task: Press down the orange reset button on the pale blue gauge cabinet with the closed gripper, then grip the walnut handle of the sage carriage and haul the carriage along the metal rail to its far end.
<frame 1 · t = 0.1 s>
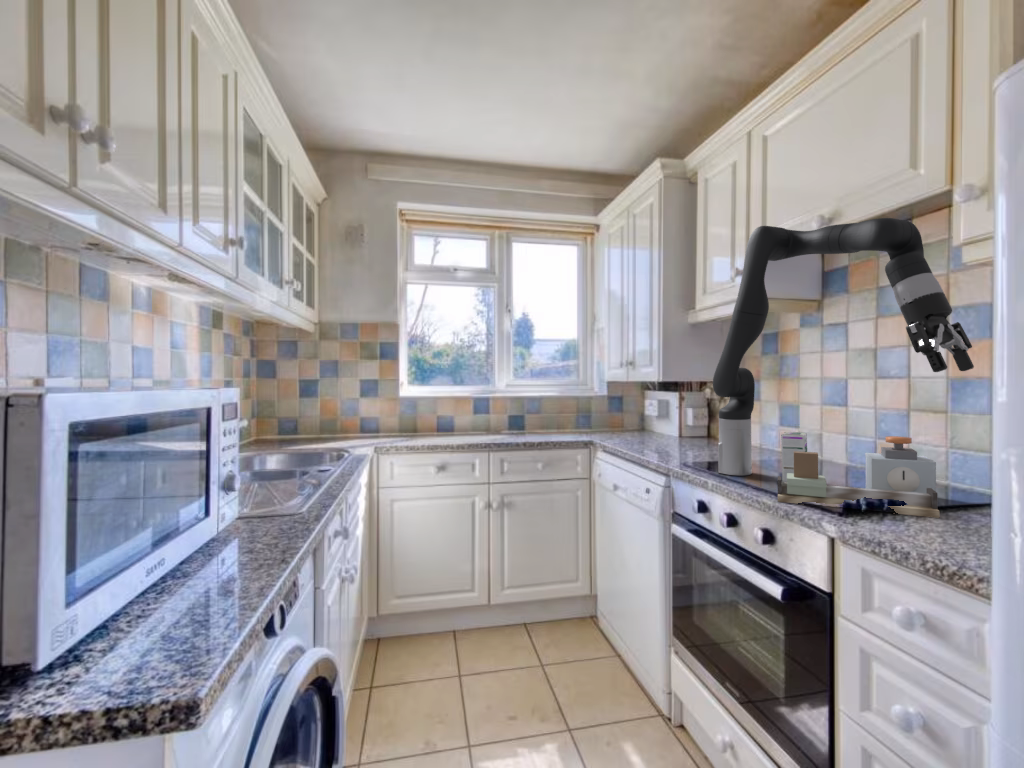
hand: (954, 370, 96), 31 cm above the countertop, tool tilted 20°, fingers open, 8 cm apart
syrup box: (795, 485, 132), on the countertop
gauge cabinet: (898, 497, 117), on the countertop
reset button: (898, 443, 117), point 13 cm above the countertop, slide at 0.0 cm
carriage: (805, 472, 116), point 7 cm above the countertop, slide at -9.0 cm
rail base: (850, 504, 111), on the countertop
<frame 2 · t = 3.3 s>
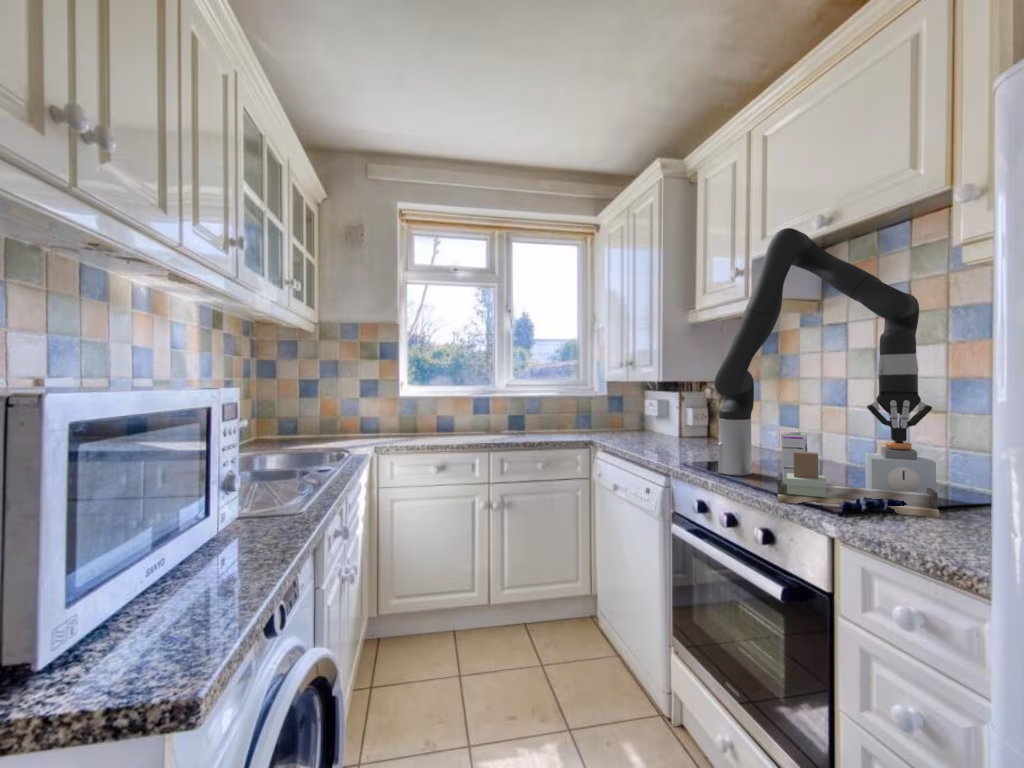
hand: (898, 442, 117), 14 cm above the countertop, tool pointing down, fingers closed
reset button: (898, 448, 117), point 12 cm above the countertop, slide at 1.3 cm, touching gripper
everything else where it was.
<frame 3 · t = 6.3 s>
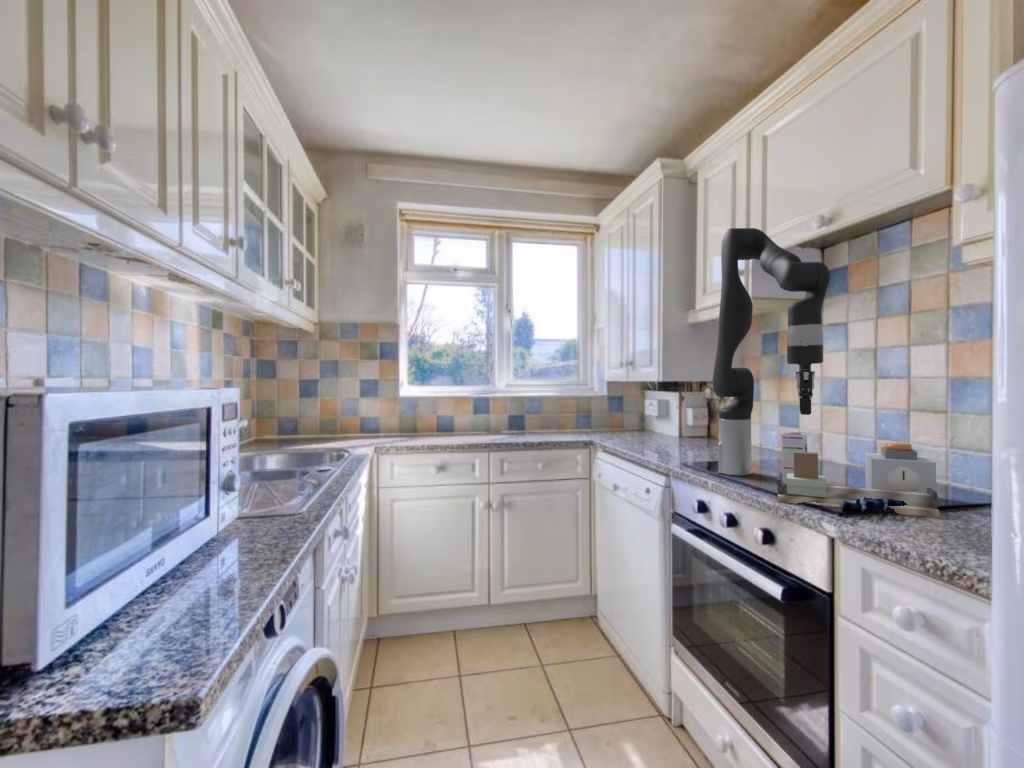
hand: (805, 413, 116), 21 cm above the countertop, tool pointing down, fingers open, 5 cm apart
reset button: (898, 449, 117), point 12 cm above the countertop, slide at 1.6 cm
everything else where it was.
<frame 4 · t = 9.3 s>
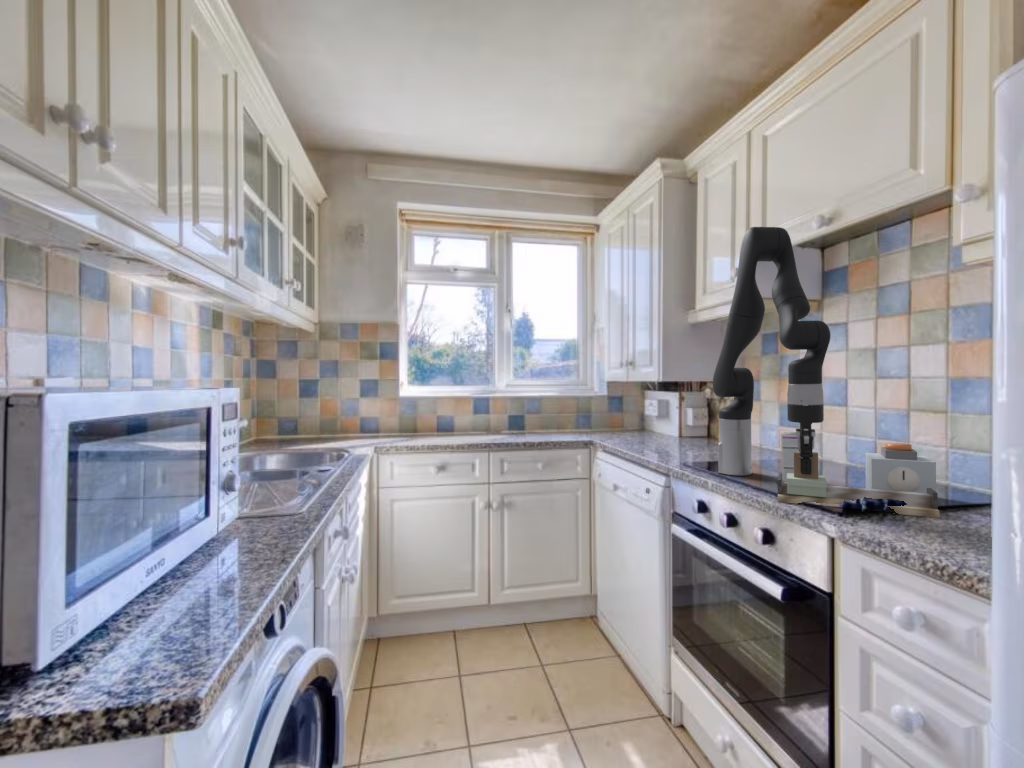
hand: (805, 472, 116), 7 cm above the countertop, tool pointing down, fingers closed on carriage, 2 cm apart
carriage: (805, 472, 116), point 7 cm above the countertop, slide at -9.0 cm, touching gripper
everything else where it was.
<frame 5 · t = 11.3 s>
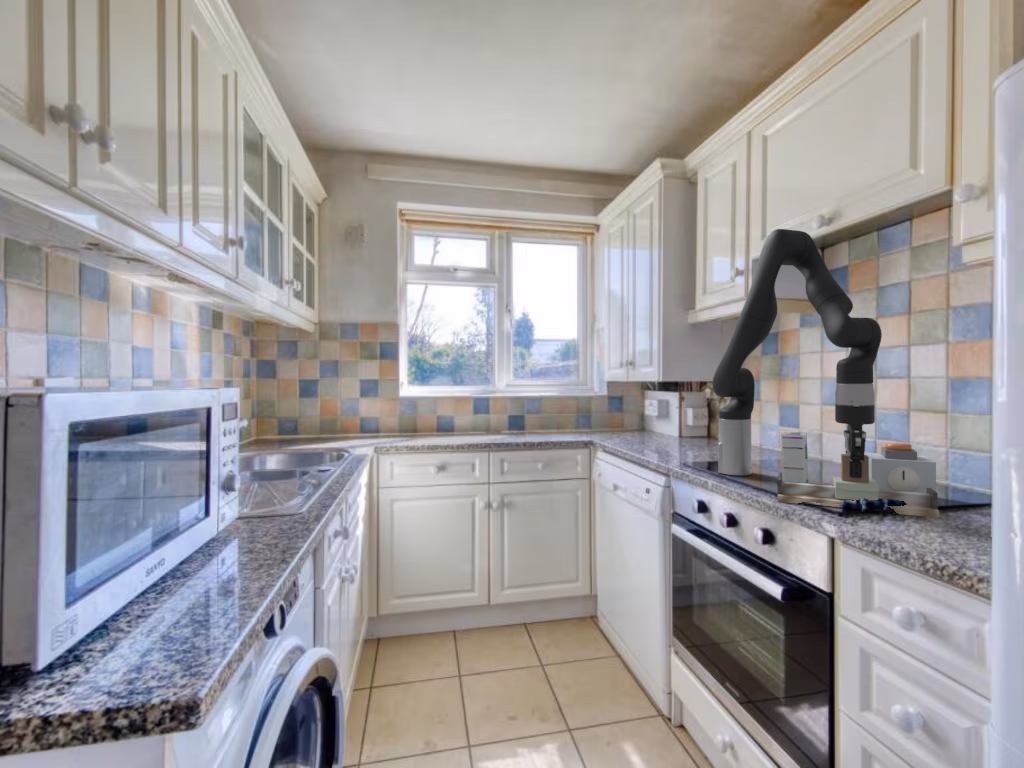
hand: (854, 476, 111), 7 cm above the countertop, tool pointing down, fingers closed on carriage, 2 cm apart
carriage: (854, 476, 111), point 7 cm above the countertop, slide at 0.8 cm, touching gripper
everything else where it was.
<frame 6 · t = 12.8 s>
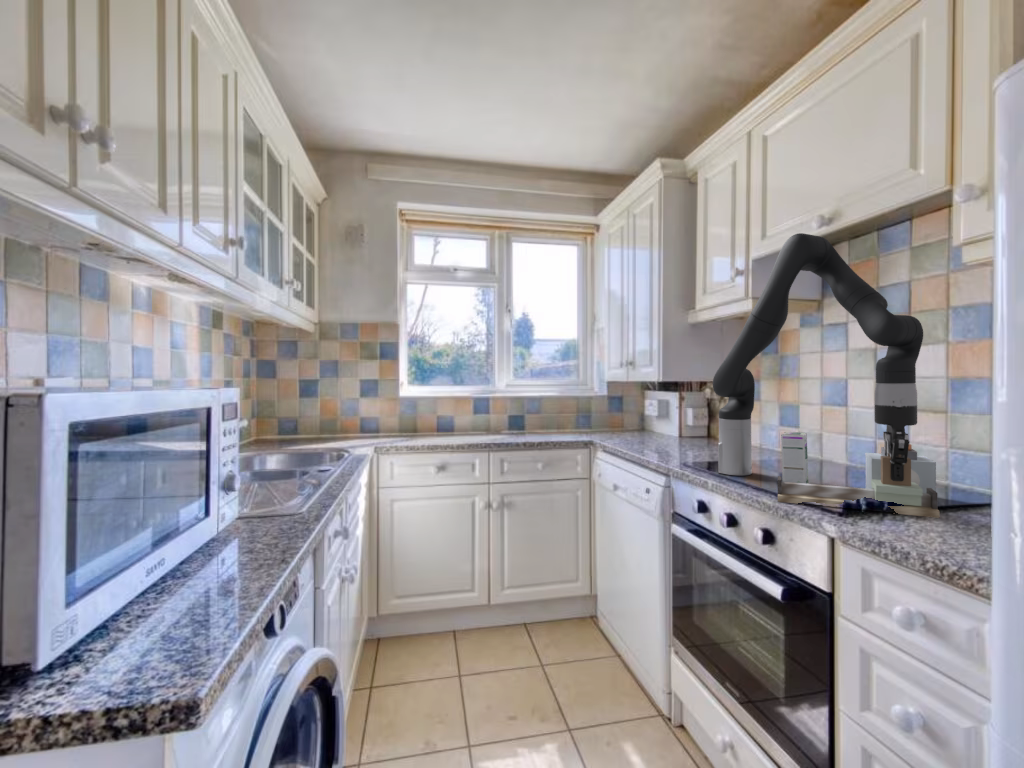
hand: (895, 479, 107), 7 cm above the countertop, tool pointing down, fingers closed on carriage, 2 cm apart
carriage: (895, 479, 107), point 7 cm above the countertop, slide at 8.3 cm, touching gripper
everything else where it was.
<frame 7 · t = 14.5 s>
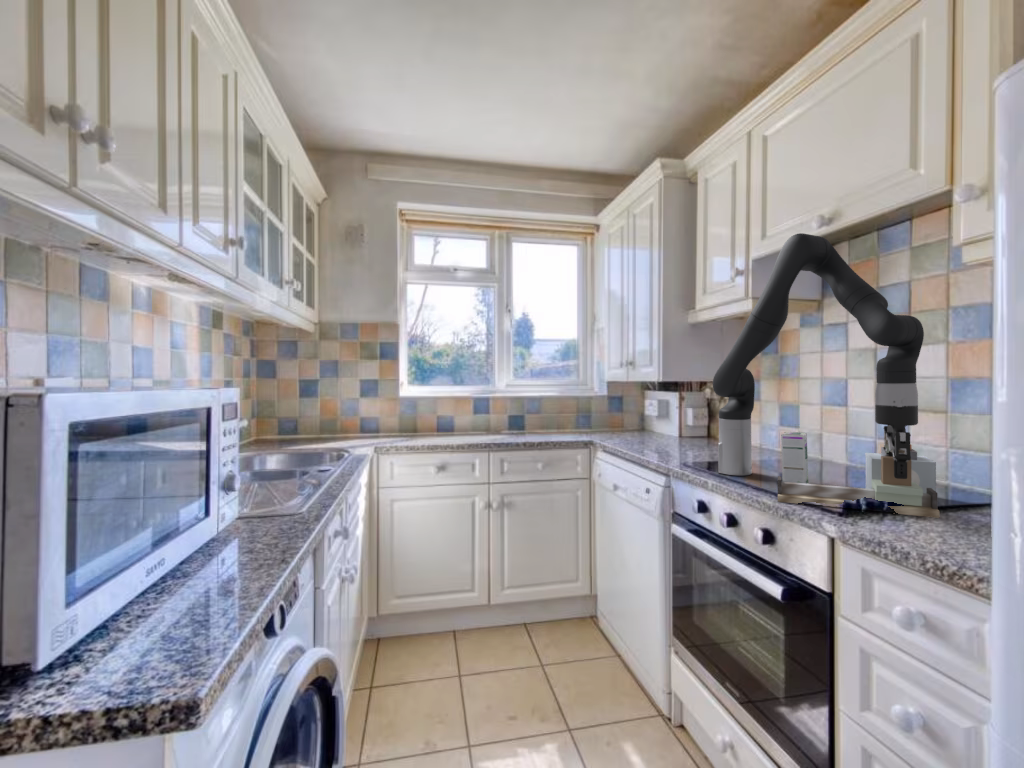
hand: (896, 474, 107), 8 cm above the countertop, tool pointing down, fingers open, 8 cm apart
carriage: (895, 479, 107), point 7 cm above the countertop, slide at 8.4 cm
everything else where it was.
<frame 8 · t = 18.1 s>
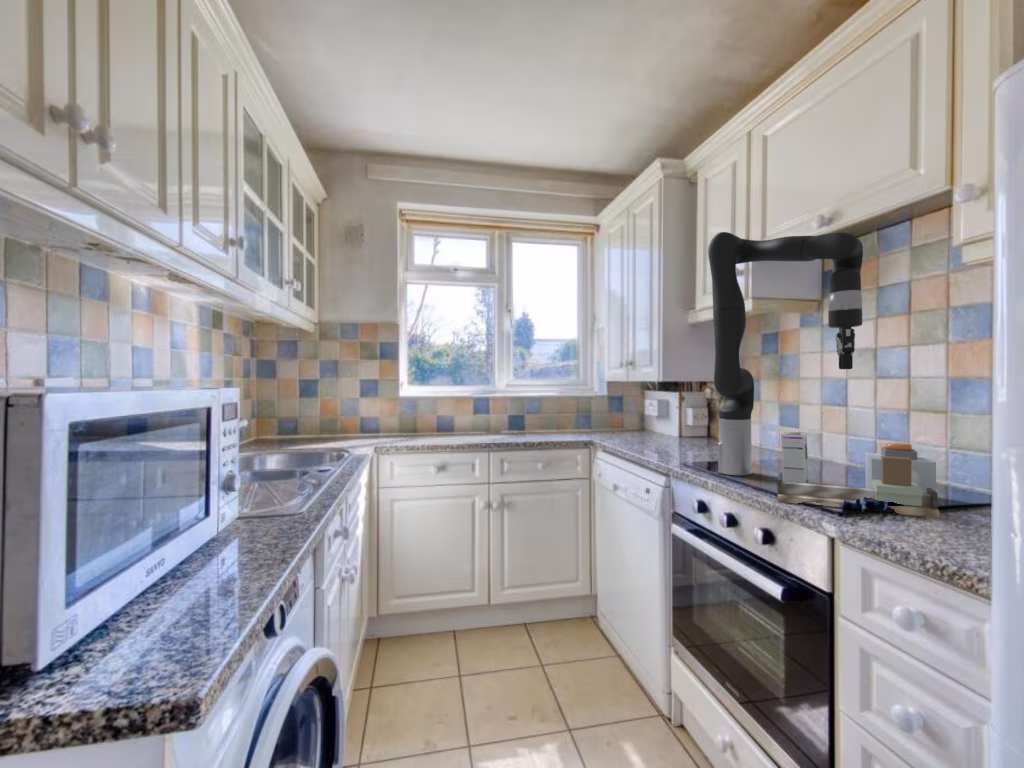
hand: (845, 369, 128), 32 cm above the countertop, tool pointing down, fingers open, 8 cm apart
nothing on the countertop moved.
at the end: carriage slide at 8.4 cm; reset button slide at 1.6 cm; the gripper is holding nothing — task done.
